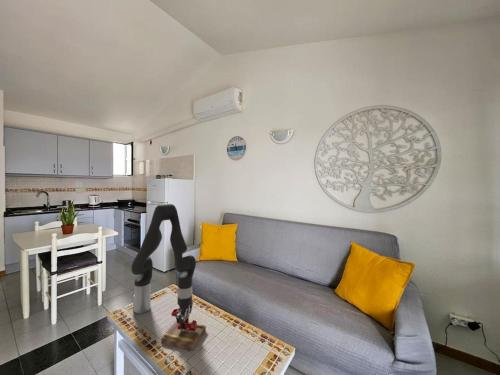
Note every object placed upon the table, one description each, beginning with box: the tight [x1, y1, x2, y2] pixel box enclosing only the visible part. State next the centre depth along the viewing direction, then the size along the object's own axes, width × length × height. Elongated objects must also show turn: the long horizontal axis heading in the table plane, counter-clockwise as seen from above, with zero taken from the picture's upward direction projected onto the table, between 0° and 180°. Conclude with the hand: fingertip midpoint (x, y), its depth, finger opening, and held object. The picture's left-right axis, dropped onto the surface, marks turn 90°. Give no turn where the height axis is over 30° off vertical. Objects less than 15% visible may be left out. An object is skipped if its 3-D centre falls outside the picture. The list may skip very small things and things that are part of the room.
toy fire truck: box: [170, 308, 198, 332], centre depth 110 cm, size 3×14×10 cm, turn 82°
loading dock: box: [160, 319, 207, 352], centre depth 110 cm, size 18×14×4 cm
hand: (184, 325), depth 110 cm, fingers closed on toy fire truck, 3 cm apart
